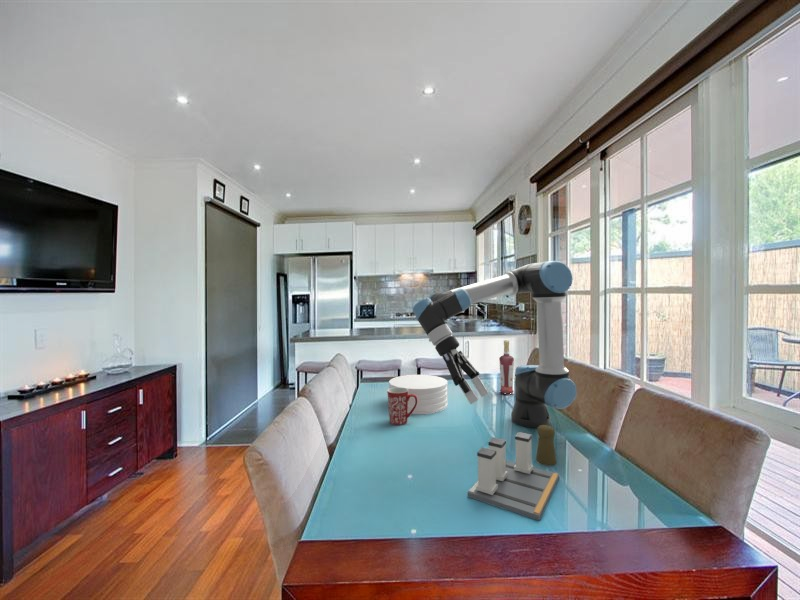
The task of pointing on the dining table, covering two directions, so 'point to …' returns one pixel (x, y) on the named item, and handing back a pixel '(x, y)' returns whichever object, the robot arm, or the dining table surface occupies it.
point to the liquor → (506, 370)
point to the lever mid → (499, 457)
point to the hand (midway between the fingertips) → (480, 398)
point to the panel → (521, 491)
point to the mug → (399, 405)
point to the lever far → (487, 471)
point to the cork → (546, 446)
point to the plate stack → (423, 392)
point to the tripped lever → (523, 453)
